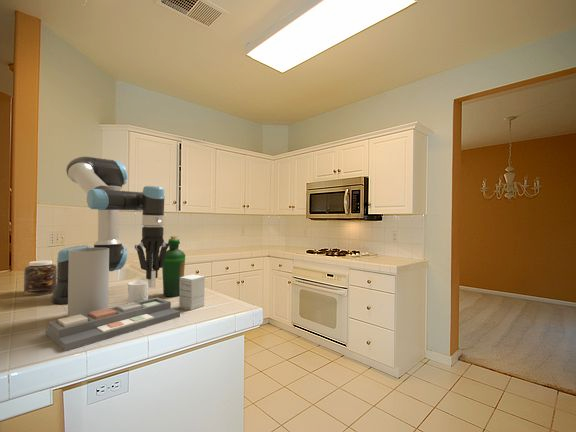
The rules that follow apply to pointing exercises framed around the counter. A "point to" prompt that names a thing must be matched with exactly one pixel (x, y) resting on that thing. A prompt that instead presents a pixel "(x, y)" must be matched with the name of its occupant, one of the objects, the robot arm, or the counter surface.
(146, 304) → the key sage
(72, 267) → the cylinder vase
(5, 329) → the counter surface
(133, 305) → the key grey
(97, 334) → the key pad
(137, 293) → the white cup
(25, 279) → the jar
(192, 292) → the supplement box
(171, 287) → the bottle
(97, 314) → the key terracotta
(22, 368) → the counter surface
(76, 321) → the key white
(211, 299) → the counter surface
